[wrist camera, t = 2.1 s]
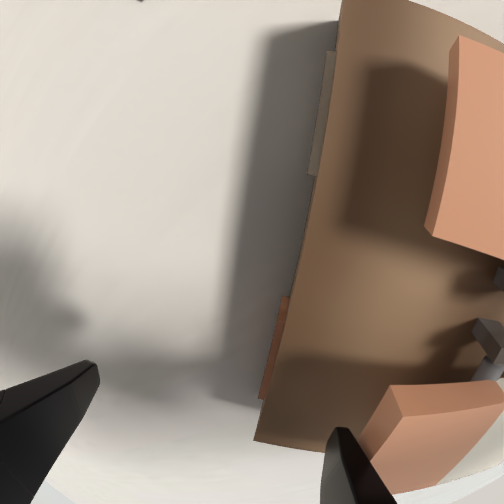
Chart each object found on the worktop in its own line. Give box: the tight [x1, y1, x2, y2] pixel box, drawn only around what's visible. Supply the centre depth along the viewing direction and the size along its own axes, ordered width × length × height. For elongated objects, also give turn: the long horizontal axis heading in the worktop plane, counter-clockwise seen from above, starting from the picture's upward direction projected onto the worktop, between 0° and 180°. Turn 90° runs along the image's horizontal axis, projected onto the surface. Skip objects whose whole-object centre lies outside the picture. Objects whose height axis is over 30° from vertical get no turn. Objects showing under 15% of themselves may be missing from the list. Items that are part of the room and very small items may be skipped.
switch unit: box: [253, 0, 504, 453], centre depth 9 cm, size 15×18×5 cm
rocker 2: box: [357, 355, 504, 495], centre depth 8 cm, size 9×6×2 cm, turn 81°
